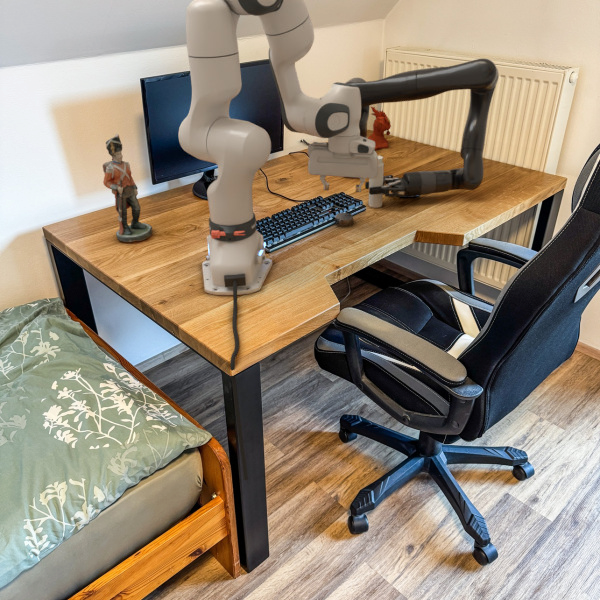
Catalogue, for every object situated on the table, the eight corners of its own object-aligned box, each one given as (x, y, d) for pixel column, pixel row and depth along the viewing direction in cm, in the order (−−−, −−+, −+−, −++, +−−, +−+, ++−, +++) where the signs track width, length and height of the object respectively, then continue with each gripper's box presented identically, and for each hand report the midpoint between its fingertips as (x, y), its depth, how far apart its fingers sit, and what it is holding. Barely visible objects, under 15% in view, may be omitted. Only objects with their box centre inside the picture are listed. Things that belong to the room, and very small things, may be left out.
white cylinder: (368, 207, 181) (369, 159, 173) (368, 202, 185) (370, 154, 176) (382, 207, 180) (384, 159, 172) (382, 202, 184) (384, 155, 176)
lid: (348, 218, 174) (348, 211, 173) (355, 224, 170) (356, 217, 169) (332, 221, 173) (332, 214, 172) (339, 228, 169) (339, 221, 167)
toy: (397, 145, 235) (399, 108, 227) (362, 152, 228) (362, 115, 220) (381, 138, 244) (382, 102, 236) (346, 145, 238) (346, 108, 230)
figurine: (143, 244, 164) (122, 142, 148) (110, 242, 166) (86, 141, 150) (158, 228, 173) (139, 130, 157) (126, 227, 175) (105, 130, 159)
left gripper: (305, 144, 158) (305, 191, 164) (378, 148, 154) (375, 196, 161) (309, 138, 163) (309, 185, 170) (380, 142, 159) (377, 189, 166)
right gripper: (412, 165, 185) (362, 169, 183) (427, 179, 173) (373, 184, 171) (411, 186, 189) (361, 191, 187) (425, 202, 177) (373, 207, 175)
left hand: (342, 190), depth 165 cm, fingers open, 8 cm apart
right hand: (367, 188), depth 179 cm, fingers closed on white cylinder, 4 cm apart
